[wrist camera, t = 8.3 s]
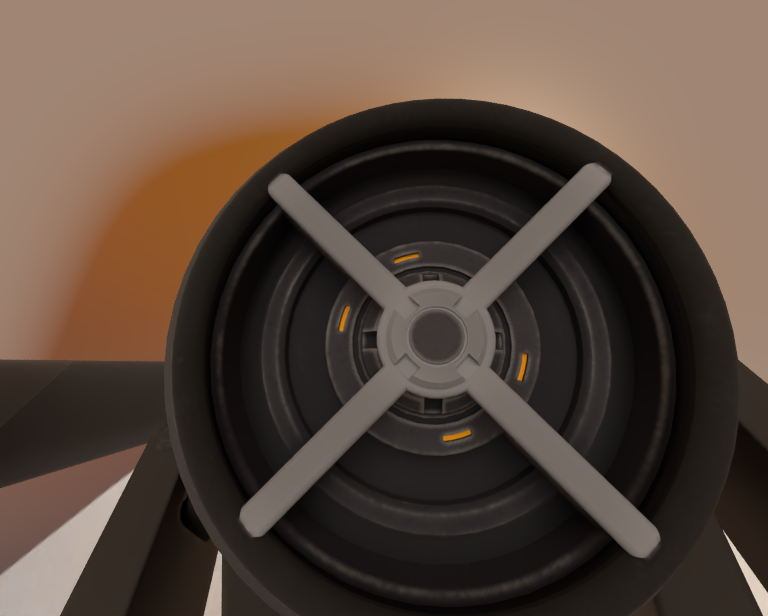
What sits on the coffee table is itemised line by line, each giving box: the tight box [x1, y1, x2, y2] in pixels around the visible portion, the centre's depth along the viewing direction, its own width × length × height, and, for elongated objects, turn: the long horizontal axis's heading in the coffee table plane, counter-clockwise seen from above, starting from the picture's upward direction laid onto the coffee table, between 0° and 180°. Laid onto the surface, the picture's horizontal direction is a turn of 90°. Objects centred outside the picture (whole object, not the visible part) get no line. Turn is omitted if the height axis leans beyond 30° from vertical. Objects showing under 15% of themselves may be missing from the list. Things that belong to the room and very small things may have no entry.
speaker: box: [164, 99, 740, 616], centre depth 12 cm, size 8×8×18 cm
